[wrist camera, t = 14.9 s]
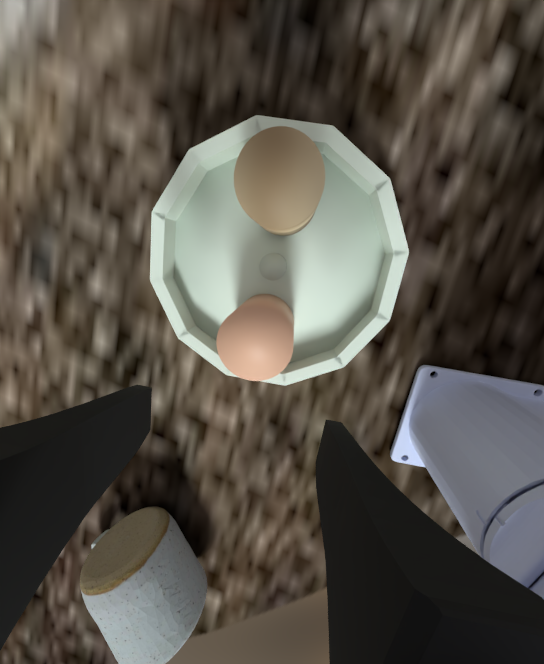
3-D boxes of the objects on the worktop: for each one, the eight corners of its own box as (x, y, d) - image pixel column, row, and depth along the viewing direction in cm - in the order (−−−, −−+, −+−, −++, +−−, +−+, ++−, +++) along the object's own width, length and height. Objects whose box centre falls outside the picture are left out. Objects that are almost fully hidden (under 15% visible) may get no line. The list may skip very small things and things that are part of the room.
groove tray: (421, 155, 16) (440, 140, 14) (359, 385, 20) (367, 400, 18) (172, 120, 17) (154, 100, 15) (162, 350, 21) (147, 360, 19)
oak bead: (323, 169, 16) (334, 133, 11) (310, 240, 17) (315, 234, 12) (256, 159, 16) (239, 120, 11) (247, 230, 17) (229, 221, 13)
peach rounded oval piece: (298, 299, 18) (300, 314, 13) (288, 354, 19) (286, 386, 15) (240, 289, 18) (220, 300, 14) (233, 344, 20) (212, 373, 15)
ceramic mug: (180, 490, 24) (128, 592, 17) (219, 556, 26) (187, 675, 19) (87, 515, 27) (5, 615, 19) (129, 575, 28) (68, 687, 21)
